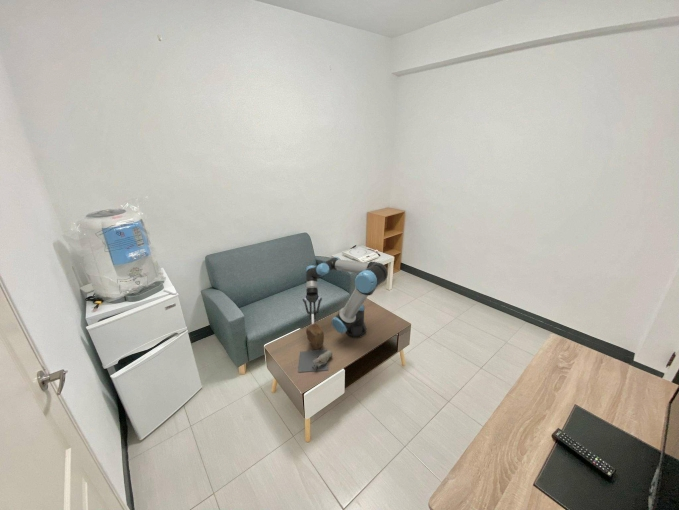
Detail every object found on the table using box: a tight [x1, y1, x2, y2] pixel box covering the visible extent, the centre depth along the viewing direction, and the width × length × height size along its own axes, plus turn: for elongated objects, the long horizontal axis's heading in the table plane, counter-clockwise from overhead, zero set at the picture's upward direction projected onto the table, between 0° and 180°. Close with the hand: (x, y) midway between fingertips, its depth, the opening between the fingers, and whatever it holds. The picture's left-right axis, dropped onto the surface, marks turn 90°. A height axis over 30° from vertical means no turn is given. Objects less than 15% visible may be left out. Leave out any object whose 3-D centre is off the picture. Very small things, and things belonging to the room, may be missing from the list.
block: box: [305, 322, 325, 350], centre depth 175 cm, size 11×8×20 cm
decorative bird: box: [312, 349, 333, 372], centre depth 166 cm, size 5×16×8 cm, turn 140°
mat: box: [298, 349, 329, 374], centre depth 170 cm, size 18×17×1 cm
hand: (312, 324), depth 173 cm, fingers closed
